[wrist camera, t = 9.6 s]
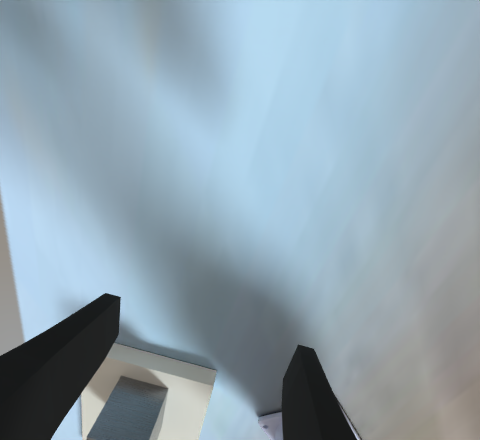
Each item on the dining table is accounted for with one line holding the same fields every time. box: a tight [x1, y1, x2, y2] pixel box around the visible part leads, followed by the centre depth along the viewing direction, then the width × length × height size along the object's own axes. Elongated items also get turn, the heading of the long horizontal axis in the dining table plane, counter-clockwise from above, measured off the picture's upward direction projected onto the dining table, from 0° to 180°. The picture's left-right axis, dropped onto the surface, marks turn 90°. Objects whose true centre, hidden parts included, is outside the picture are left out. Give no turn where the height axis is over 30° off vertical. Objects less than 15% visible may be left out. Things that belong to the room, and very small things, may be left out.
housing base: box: [81, 343, 217, 440], centre depth 27 cm, size 18×12×5 cm, turn 167°
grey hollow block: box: [87, 376, 168, 440], centre depth 24 cm, size 6×4×5 cm
